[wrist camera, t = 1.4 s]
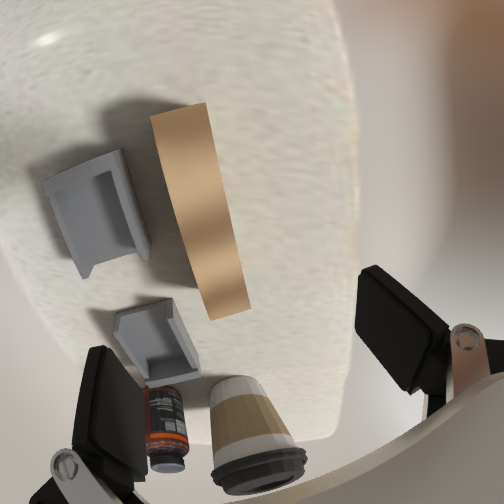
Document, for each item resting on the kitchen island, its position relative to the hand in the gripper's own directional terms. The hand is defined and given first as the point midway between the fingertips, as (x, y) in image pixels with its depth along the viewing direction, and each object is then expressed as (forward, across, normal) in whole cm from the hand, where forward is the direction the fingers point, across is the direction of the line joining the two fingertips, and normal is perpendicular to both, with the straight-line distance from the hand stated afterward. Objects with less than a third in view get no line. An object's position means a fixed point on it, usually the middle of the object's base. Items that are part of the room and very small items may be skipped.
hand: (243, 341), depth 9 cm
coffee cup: (+16, +3, +26) cm, 30 cm away
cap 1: (+15, +8, -3) cm, 17 cm away
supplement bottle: (+16, +13, +22) cm, 30 cm away
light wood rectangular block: (+16, 0, 0) cm, 16 cm away
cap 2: (+15, +8, +12) cm, 21 cm away
